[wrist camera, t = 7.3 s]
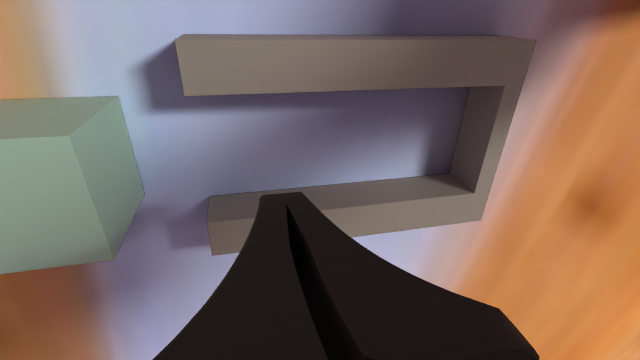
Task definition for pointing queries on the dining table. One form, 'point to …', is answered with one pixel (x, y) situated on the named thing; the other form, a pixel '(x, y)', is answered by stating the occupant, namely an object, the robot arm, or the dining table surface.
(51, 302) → the dining table surface
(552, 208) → the dining table surface
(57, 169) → the block
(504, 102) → the chute
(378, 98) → the dining table surface
